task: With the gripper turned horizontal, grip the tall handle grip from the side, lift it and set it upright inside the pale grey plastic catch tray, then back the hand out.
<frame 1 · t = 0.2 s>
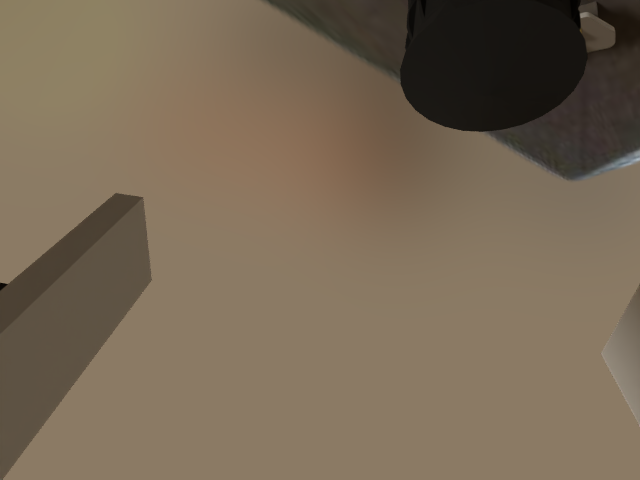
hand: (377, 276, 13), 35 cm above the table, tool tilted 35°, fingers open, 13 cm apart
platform: (545, 3, 43), on the table
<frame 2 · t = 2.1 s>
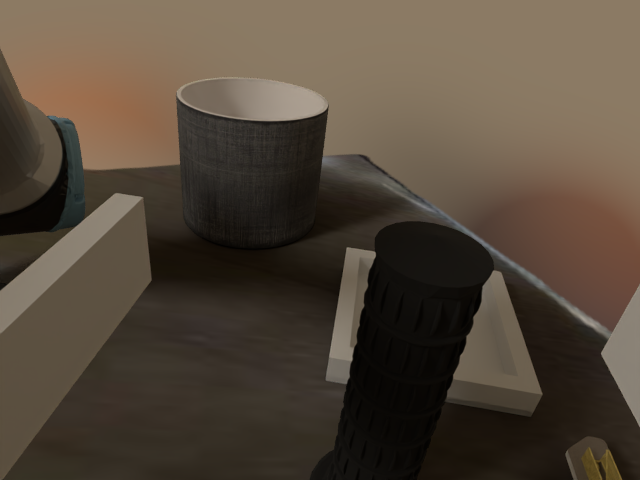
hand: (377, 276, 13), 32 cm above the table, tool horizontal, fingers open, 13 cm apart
catch tray: (421, 329, 60), on the table
planter: (250, 216, 81), on the table
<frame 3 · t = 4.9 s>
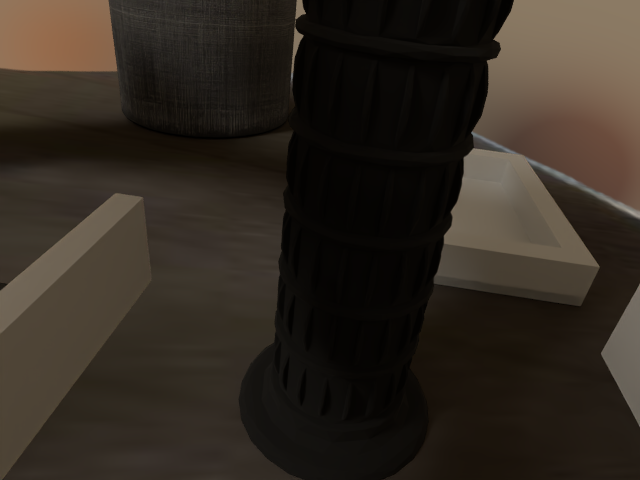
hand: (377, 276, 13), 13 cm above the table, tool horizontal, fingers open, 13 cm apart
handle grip: (334, 399, 25), on the table
catch tray: (421, 215, 45), on the table
planter: (208, 113, 65), on the table
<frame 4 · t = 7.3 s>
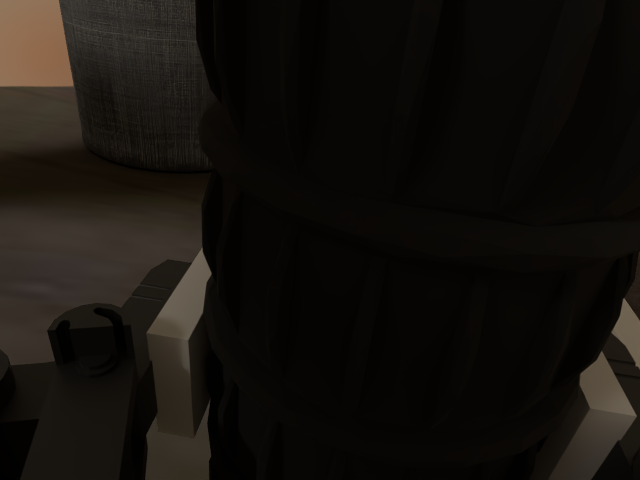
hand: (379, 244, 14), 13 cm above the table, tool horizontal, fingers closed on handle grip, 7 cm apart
catch tray: (434, 279, 36), on the table
planter: (184, 138, 57), on the table
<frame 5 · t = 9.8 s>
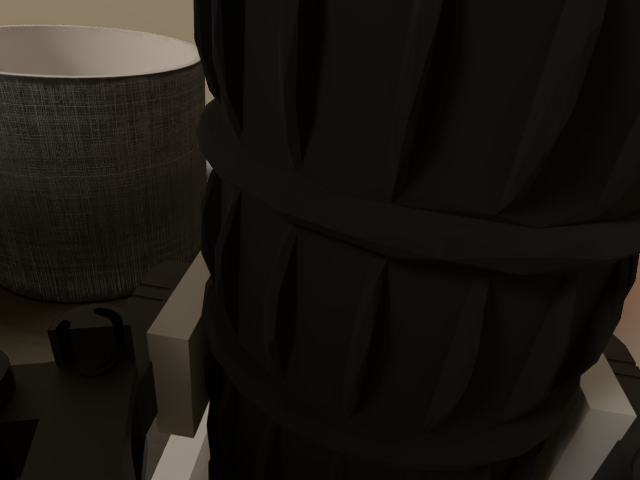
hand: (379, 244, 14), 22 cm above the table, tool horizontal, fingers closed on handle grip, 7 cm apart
catch tray: (346, 468, 32), on the table
planter: (105, 242, 52), on the table
when the fingers open (15 cm above the table, at t = 12.6 s): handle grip drops 2 cm, resting on catch tray.
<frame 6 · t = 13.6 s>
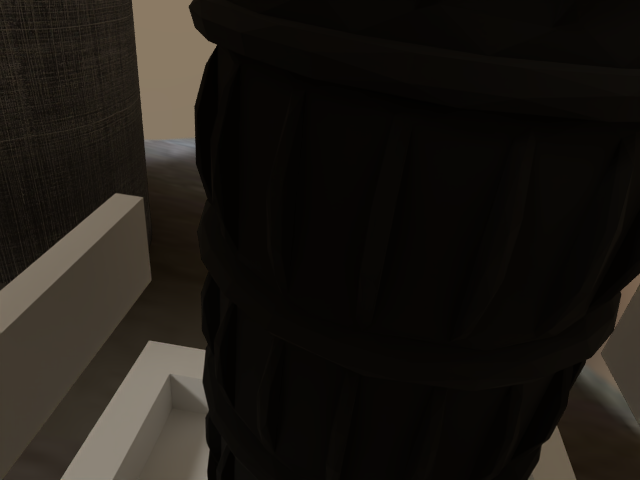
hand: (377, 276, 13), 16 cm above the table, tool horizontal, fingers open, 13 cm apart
planter: (10, 247, 39), on the table
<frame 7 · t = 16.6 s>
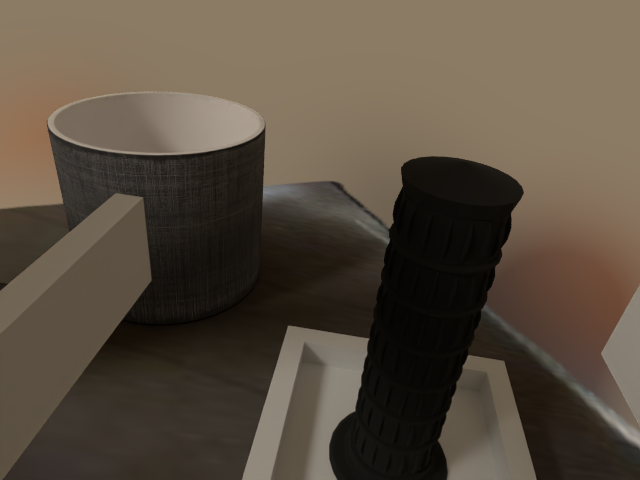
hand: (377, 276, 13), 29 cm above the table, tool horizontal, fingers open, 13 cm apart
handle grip: (387, 457, 40), point 1 cm above the table, touching catch tray
catch tray: (387, 461, 41), on the table
planter: (174, 271, 62), on the table
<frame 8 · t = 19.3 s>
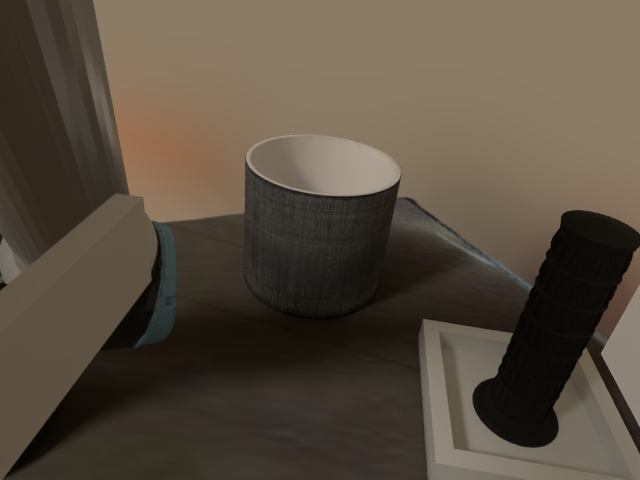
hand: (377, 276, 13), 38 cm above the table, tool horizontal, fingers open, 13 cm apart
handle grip: (514, 411, 57), point 1 cm above the table, touching catch tray
catch tray: (512, 414, 57), on the table
planter: (311, 276, 78), on the table
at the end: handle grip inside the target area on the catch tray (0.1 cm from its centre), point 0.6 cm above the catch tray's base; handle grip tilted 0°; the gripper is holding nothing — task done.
